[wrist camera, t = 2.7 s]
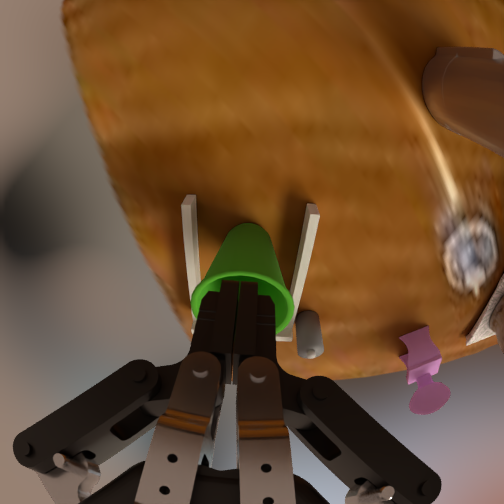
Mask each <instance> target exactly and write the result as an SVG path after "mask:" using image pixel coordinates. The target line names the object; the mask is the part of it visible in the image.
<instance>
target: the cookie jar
mask: <svg viewBox="0 0 504 504" xmlns="http://www.w3.org/2000/svg"><path fill="white" fill-rule="evenodd" d="M492 335H496V336H497V341H498V344H499V346H500V348H501V350H502V351H503V353H504V274H503V276H502V277H501V279H500V281H499V283H498V286H497V288H496V290H495V292H494V293H493V295H492V297H491V299H490V300H489V302H488V304H487V306H486V307H485V309H484V311H483V313H482V314H481V316H480V318H479V319H478V321H477V322H476V324H475V326H474V327H473V329H472V330H471V332H470V333H469V334H468V335H467V336H466V340H467V341H466V346H467V345H470V344H472V343H475V342H478V341H479V340H483V339H485V338H488V337H490V336H492Z"/></svg>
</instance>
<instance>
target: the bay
mask: <svg viewBox="0 0 504 504" xmlns="http://www.w3.org/2000/svg"><path fill="white" fill-rule="evenodd" d="M181 209H182V223H183V235H184V247H185V257H186V267H187V276H188V285H189V293H190V301H191V295H192V293H193V291H194V289H195V287H196V286H197V285H198V284H199V283H200V282H201V279H200V265H199V249H198V231H197V208H196V195H187V196H186V197H185V199H184V201H183V202H182V204H181ZM319 217H320V214H319V211H318V209H317V206H316V204H309V203H307V206H306V212H305V217H304V223H303V228H302V234H301V239H300V244H299V249H298V254H297V259H296V264H295V269H294V274H293V279H292V284H291V288H290V294H291V296H292V297H293V301H294V306H295V308H294V314H293V317H292V319H291V320H290V322H289V324H288V325H287V326H286V327H285V328H284V329H283V330H282V331H281V332H279V333H278V334H276V341H292V338H293V333H292V328H293V324H294V321H295V324H296V337H297V349H298V355H299V356H300V357H303V358H309V359H312V358H315V357H317V356H319V355H321V354H322V353H323V351H324V347H323V340H322V334H321V327H320V321H319V316H318V314H317V313H316V312H314V311H303V312H301V313H299V314H298V315H297V316H296V313H297V309H298V306H299V302H300V298H301V294H302V290H303V286H304V282H305V278H306V274H307V270H308V266H309V262H310V257H311V253H312V249H313V244H314V240H315V235H316V231H317V226H318V222H319ZM191 309H192V308H191ZM192 316H193V324H192V328H191V331H192V334H193V333H194V329H195V325H196V318H195V316H194V314H193V312H192ZM295 317H296V318H295Z"/></svg>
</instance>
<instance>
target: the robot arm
mask: <svg viewBox="0 0 504 504" xmlns="http://www.w3.org/2000/svg"><path fill="white" fill-rule="evenodd" d="M422 89H423V95H424V100H425V103H426V105H427V108H428V110H429V111H430V113H431V115H432V116H433V117H434V119H435V120H436V121H437V122H438V123H439V124H440V125H441V126H443V127H445V128H447V129H449V130H451V131H453V132H455V133H457V134H459V135H462V136H464V137H466V138H468V139H470V140H472V141H474V142H476V143H478V144H480V145H482V146H484V147H486V148H488V149H489V150H491V151H493V152H495V153H497V154H498V155H500V156H502V157H504V55H503V54H502V53H501V52H499V51H498V50H496V49H493V48H479V47H437V53H436V55H435V57H433V58H432V59H431V60H430V61H429V63H428V64H427V66H426V68H425V70H424V73H423V80H422ZM275 325H276V319H275V304H274V302H273V300H272V299H271V297H270V296H269V295H258V282H248V281H241V284H240V294H239V281H234V280H222V282H221V287H220V292H216V291H208V292H207V293H206V295H205V296H204V297H203V298H202V299H201V304H200V308H199V312H198V316H197V320H196V325H195V329H194V333H193V338H192V342H191V347H190V351H189V353H188V355H187V356H186V357H185V358H184V359H183V360H182V361H180V362H178V363H176V364H173V365H167V366H160V367H155V366H154V365H153V364H152V363H151V362H149V361H147V360H133V361H131V362H129V363H127V364H126V365H124V366H123V367H122V368H120V369H118V370H117V371H116V372H114V373H112V374H111V375H109V376H108V377H106V378H105V379H103V380H102V381H100V382H99V383H98V384H96V385H94V386H93V387H91V388H90V389H88V390H87V391H85V392H84V393H82V394H81V395H79V396H78V397H76V398H75V399H73V400H71V401H70V402H69V403H67V404H65V405H64V406H62V407H61V408H59V409H57V410H56V411H54V412H53V413H51V414H50V415H48V416H46V417H45V418H43V419H42V420H40V421H39V422H37V423H36V424H34V425H32V426H31V427H29V428H27V429H26V430H24V431H23V432H21V433H19V434H18V435H17V436H16V438H15V439H14V442H13V451H14V455H15V457H16V459H17V460H18V462H19V463H20V464H22V465H23V466H25V467H27V468H29V469H32V470H34V471H35V472H36V473H37V474H38V476H39V478H40V479H41V481H42V483H43V485H44V486H45V488H46V490H47V491H48V493H49V495H50V496H51V498H52V499H53V501H54V502H55V504H330V503H329V502H328V501H327V500H326V499H325V498H324V497H322V495H320V493H319V492H318V491H317V490H316V489H315V488H314V487H313V486H312V485H311V484H310V483H308V482H307V481H306V480H304V479H303V478H301V477H299V476H297V475H295V474H293V468H292V458H291V448H290V438H289V432H288V428H287V427H286V426H288V427H289V429H290V430H291V431H292V432H293V433H294V434H295V435H296V436H297V437H298V438H299V439H300V441H301V442H302V443H304V445H305V446H306V447H307V448H308V449H309V450H310V451H311V452H312V453H313V454H314V455H315V456H316V457H317V458H318V459H319V460H320V461H321V462H322V463H323V464H324V465H325V466H326V467H327V468H328V469H329V470H331V472H332V473H334V474H335V475H336V476H337V477H338V478H339V479H340V480H341V481H342V482H343V483H344V484H345V485H346V486H348V487H349V488H350V490H349V491H348V493H347V495H346V497H345V504H431V503H432V502H433V501H435V499H436V498H437V497H438V495H439V493H440V491H441V479H440V477H439V476H438V474H436V473H435V472H434V471H433V470H432V469H431V468H429V467H428V466H427V465H426V464H425V463H423V462H422V461H421V460H420V459H419V458H418V457H416V456H415V455H414V454H413V453H412V452H411V451H409V450H408V449H407V448H406V447H405V446H404V445H402V443H400V442H399V441H398V440H397V439H396V438H395V437H394V436H392V435H391V434H390V433H389V432H388V431H387V430H386V429H384V428H383V427H382V426H381V425H380V424H379V423H378V422H377V421H375V419H373V418H372V417H371V416H370V415H369V414H368V413H367V412H366V411H365V410H364V409H363V408H361V407H360V406H359V405H358V404H357V403H356V402H355V401H354V400H353V399H352V398H351V397H350V396H349V395H348V394H347V393H346V392H344V391H343V390H342V389H341V388H340V387H339V386H338V385H337V384H336V383H335V382H334V381H333V380H331V379H330V378H327V377H324V376H314V377H311V378H309V379H307V380H305V379H302V378H299V377H296V376H293V375H290V374H288V373H287V372H285V371H284V370H283V369H282V368H281V367H280V366H279V364H278V362H277V358H276V326H275ZM232 368H233V384H235V385H237V396H236V431H237V432H236V435H237V469H231V470H225V471H219V470H215V469H212V468H211V465H212V460H213V454H214V444H215V438H216V433H217V428H218V422H219V417H220V412H221V407H222V402H223V398H224V392H225V384H231V378H232ZM155 426H156V427H155ZM153 427H155V431H154V434H153V438H152V441H151V444H150V447H149V451H148V454H147V458H146V461H143V462H140V463H137V464H136V465H133V466H132V467H131V468H129V469H128V470H127V471H125V472H123V473H122V474H121V475H120V476H118V477H117V478H115V479H114V480H112V481H111V482H110V483H108V484H107V485H105V486H104V487H102V488H101V489H100V490H98V491H97V492H95V493H94V494H92V495H91V491H92V488H93V487H94V486H95V485H96V484H97V483H98V482H99V480H100V476H101V473H100V469H99V466H98V465H100V464H102V463H103V462H105V461H106V460H108V459H109V458H111V457H112V456H114V455H115V454H117V453H118V452H120V451H121V450H122V449H124V448H125V447H127V446H128V445H130V444H131V443H132V442H134V441H135V440H137V439H138V438H140V437H141V436H142V435H144V434H145V433H146V432H148V431H149V430H150V429H152V428H153Z"/></svg>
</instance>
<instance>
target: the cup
mask: <svg viewBox="0 0 504 504" xmlns="http://www.w3.org/2000/svg"><path fill="white" fill-rule="evenodd" d="M222 280H234V281H239V294H240V284H241V281H248V282H258V295H269V296H270V297H271V299H272V300H273V302H274V304H275V319H276V325H275V326H276V334H278V333H279V332H281V331H282V330H283V329H284V328H285V327H286V326H287V325H288V324H289V322H290V320H291V319H292V317H293V314H294V308H295V306H294V301H293V297H292V296H291V294H290V292H289V291H288V289H287V288H286V287H285V284H284V280H283V277H282V274H281V271H280V267H279V264H278V261H277V258H276V255H275V251H274V248H273V245H272V242H271V239H270V236H269V234H268V233H267V232H266V231H265V230H264V229H263V228H262V227H260V226H259V225H256V224H252V223H243V224H240V225H238V226H236V227H234V228H232V229H231V230H230V231H229V233H228V234H227V236H226V238H225V240H224V242H223V244H222V245H221V247H220V249H219V251H218V253H217V255H216V257H215V259H214V261H213V262H212V264H211V266H210V268H209V270H208V272H207V274H206V276H205V278H204V279H203V280H202V281H201V282H200V283H199V284H198V285H197V286H196V287H195V289H194V291H193V293H192V295H191V302H190V303H191V308H192V312H193V314H194V316H195V318H196V320H197V316H198V312H199V308H200V304H201V299H202V298H203V297H204V296H205V295H206V293H207V292H208V291H216V292H220V287H221V282H222Z"/></svg>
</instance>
